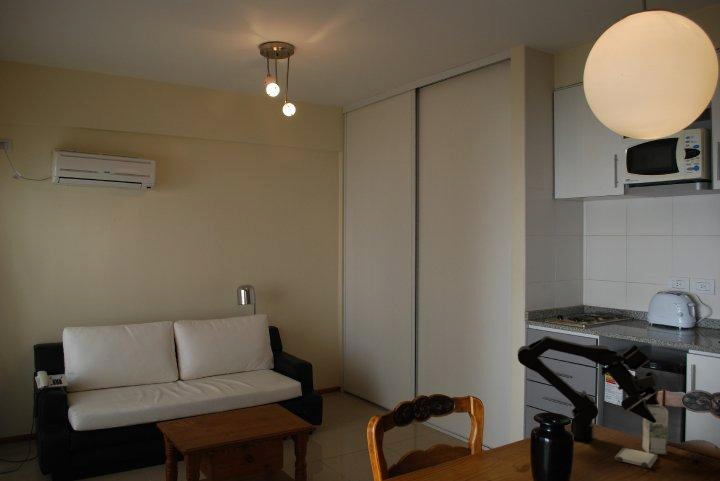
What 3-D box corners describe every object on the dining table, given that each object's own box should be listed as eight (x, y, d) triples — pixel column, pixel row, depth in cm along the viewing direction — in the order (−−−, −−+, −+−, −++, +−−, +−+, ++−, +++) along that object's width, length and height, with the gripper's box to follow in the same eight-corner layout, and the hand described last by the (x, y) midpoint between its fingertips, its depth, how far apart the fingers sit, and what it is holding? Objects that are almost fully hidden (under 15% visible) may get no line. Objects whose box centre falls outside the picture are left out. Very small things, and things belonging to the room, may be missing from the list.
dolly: (614, 461, 180) (614, 455, 180) (623, 450, 189) (623, 445, 189) (649, 469, 174) (649, 463, 174) (657, 458, 183) (657, 452, 183)
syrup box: (660, 448, 191) (660, 404, 191) (667, 455, 185) (668, 409, 185) (641, 447, 191) (642, 403, 191) (648, 454, 185) (649, 408, 185)
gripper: (631, 369, 184) (669, 411, 176) (652, 360, 197) (688, 399, 189) (606, 389, 190) (641, 431, 182) (628, 379, 203) (662, 418, 195)
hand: (659, 419), depth 187 cm, fingers closed on syrup box, 8 cm apart
